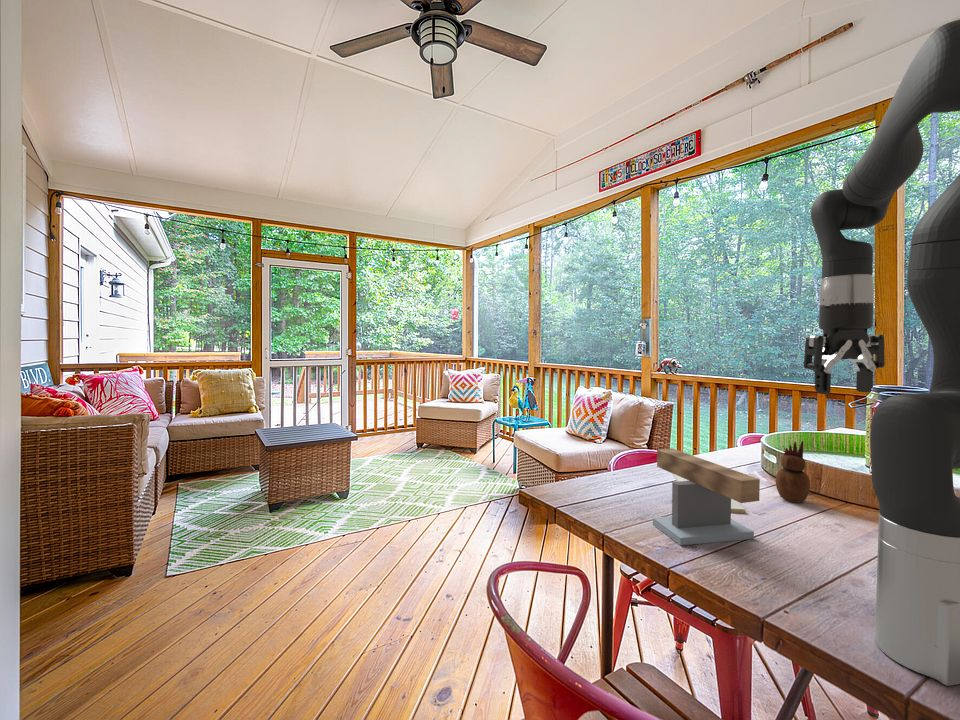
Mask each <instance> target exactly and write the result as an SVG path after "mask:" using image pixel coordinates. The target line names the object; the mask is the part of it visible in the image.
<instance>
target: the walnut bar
mask: <svg viewBox="0 0 960 720" xmlns="http://www.w3.org/2000/svg"><path fill="white" fill-rule="evenodd" d="M656 467H657V468H659V469H660V470H661V469H662V470H663V471H666V472H669V473H671V474H672V473H673V474H675V475H677V476H680V477H682V478H684V479H687V480H689V481H691V482H694V483H696V484H698V485H701V486H703V487H705V488H707V489H710V490H712V491H714V492H717V493H719V494H721V495H724V496H726V497H728V498H731V499H733V500H735V501H737V502H739V503H740V504H745V503H753V502H760V492H761V491H760V485H761V483H760V481H761V480H760V478H758V477H755V476H751V475H748V474H746V473H743V472H741V471H737V470H735V469H731V468H729V467H727V466H723V465H720V464H717V463H714V462H712V461H709V460H707V459H703V458H700V457H698V456H696V455H693V454H689V453H686V452H683V451H681V450H678V449H675V448H673V447H671V448H670V447H669V448H663V449H661V448H659V449H657V450H656Z"/></svg>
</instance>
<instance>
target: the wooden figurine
mask: <svg viewBox="0 0 960 720" xmlns="http://www.w3.org/2000/svg"><path fill="white" fill-rule="evenodd" d="M804 442H805V441H803V440H802V441H801V442H800V445H799V447H797V442H796V441H794V443H793V448H792V445H789V447H788V448H787V447H786V448H784V449H785V450H784V452H783V455H782V457H781V458H780V463H781V467H782V468H781V469H779V470H778V471H777V473H776V474H775V486H776V489H777V493H778V494H779V497H780V498H782V499H783V500H785V501H786V502H790V501H791V503H798V504H799V503H804V502H805V500H806V499H807V498H808V497H809V493H810V489H811V488H810V487H811V479H810V477H809V475H808V474H807V473H806V472H805V471H804V470H805V468H806V460H805V459H804Z"/></svg>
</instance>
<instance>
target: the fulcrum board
mask: <svg viewBox="0 0 960 720" xmlns="http://www.w3.org/2000/svg"><path fill="white" fill-rule="evenodd" d="M671 485H672V486H671V488H672V489H671V492H672V493H671V515H669V516H657V517H656V516H655V517H652V525H653V526H654V527H655V526H656V527H655V528H657V529H658V530H659V529H660V530H659V531H661V532H662V533H663V532H664V534H665V535H666V534H667V535H668V536H667V535H666V536H667V537H668V538H670V539H671V538H672V539H673V541H674V542H675V543H676V542H677V543H676V544H678V545H679V546H689V545H698V544H699V545H700V544H701V545H702V544H709V543H711V544H712V543H721V542H732V541H733V542H734V541H743V540H752V539H755V538H754V537H755V531H754V530H752V529H750V528H749V527H746V526H745V525H743V524H742V523H740V522H738V521H737V520H734V519H733V518H731V517H732V512H731V498H728V497H726V496H724V495H721V494H719V493H717V492H714V491H712V490H710V489H707V488H705V487H703V486H701V485H698V484H696V483H694V482H691V481H679V482H677V481H672V483H671ZM672 539H671V540H672Z"/></svg>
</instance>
